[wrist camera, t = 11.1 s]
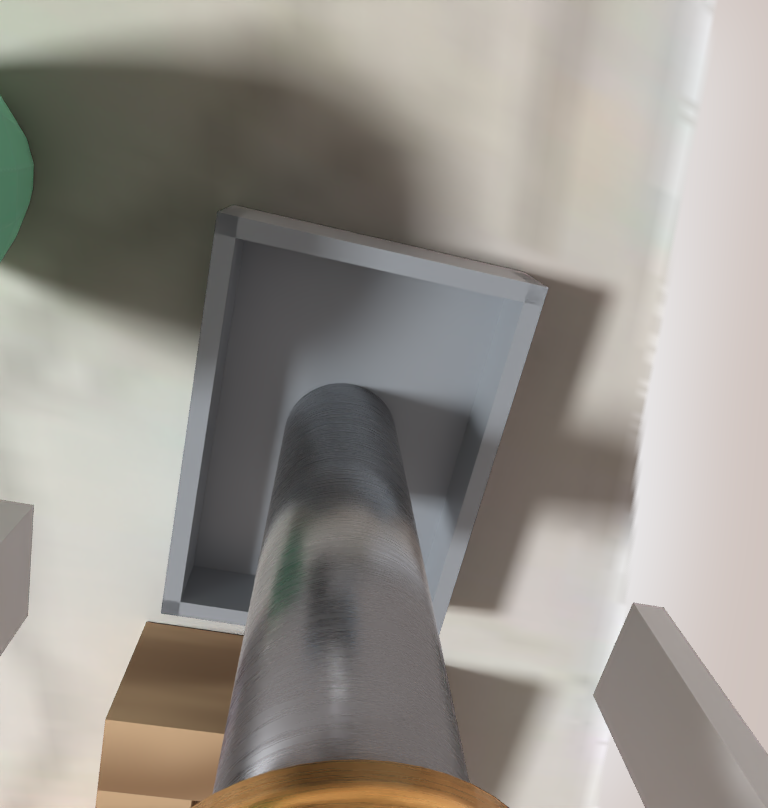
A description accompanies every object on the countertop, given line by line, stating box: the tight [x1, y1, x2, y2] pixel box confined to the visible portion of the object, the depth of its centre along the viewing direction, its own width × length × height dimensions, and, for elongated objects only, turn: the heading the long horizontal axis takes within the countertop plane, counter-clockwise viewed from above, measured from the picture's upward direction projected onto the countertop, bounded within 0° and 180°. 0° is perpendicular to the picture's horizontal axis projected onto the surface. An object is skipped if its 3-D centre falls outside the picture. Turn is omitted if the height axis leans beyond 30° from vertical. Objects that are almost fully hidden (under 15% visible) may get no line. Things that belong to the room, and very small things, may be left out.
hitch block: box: [95, 622, 244, 808], centre depth 27 cm, size 12×12×5 cm
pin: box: [191, 383, 509, 808], centre depth 16 cm, size 6×6×17 cm
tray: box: [161, 205, 548, 634], centre depth 23 cm, size 14×10×3 cm
